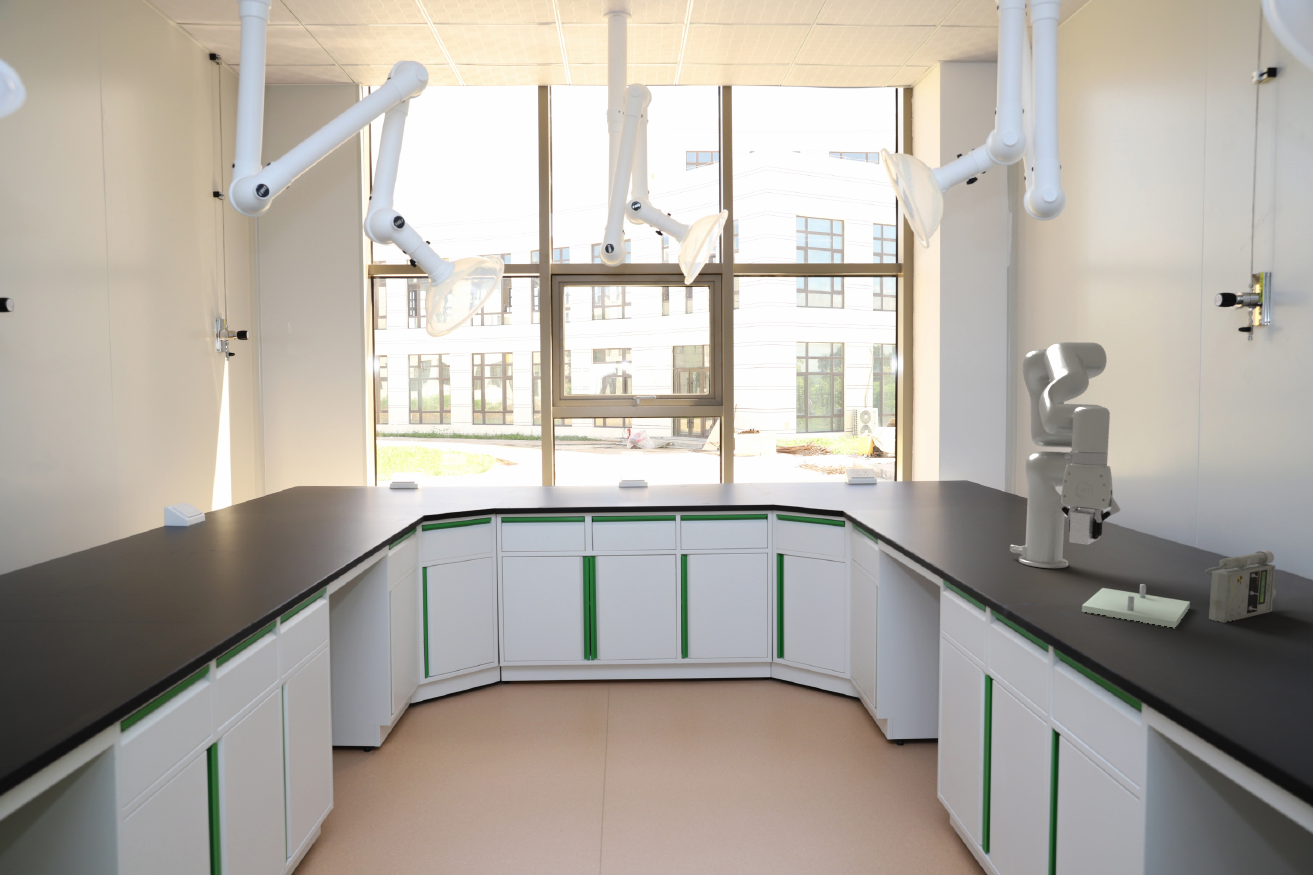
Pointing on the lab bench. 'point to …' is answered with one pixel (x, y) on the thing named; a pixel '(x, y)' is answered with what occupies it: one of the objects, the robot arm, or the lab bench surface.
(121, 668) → the lab bench surface
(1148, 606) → the pin plate
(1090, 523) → the block
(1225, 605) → the geiger counter
